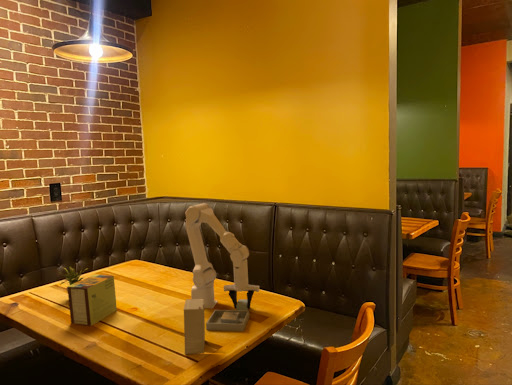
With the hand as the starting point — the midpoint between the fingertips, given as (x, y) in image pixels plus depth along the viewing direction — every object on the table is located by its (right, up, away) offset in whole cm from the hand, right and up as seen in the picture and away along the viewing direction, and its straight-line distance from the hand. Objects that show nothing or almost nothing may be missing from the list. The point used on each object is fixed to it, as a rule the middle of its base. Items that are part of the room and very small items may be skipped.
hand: (242, 307), depth 154 cm
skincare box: (-15, -5, -28) cm, 32 cm away
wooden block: (-4, -2, -12) cm, 13 cm away
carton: (0, -2, 0) cm, 2 cm away
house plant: (-80, -3, +22) cm, 83 cm away
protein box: (-61, -4, +2) cm, 62 cm away
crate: (-5, -3, -11) cm, 12 cm away
